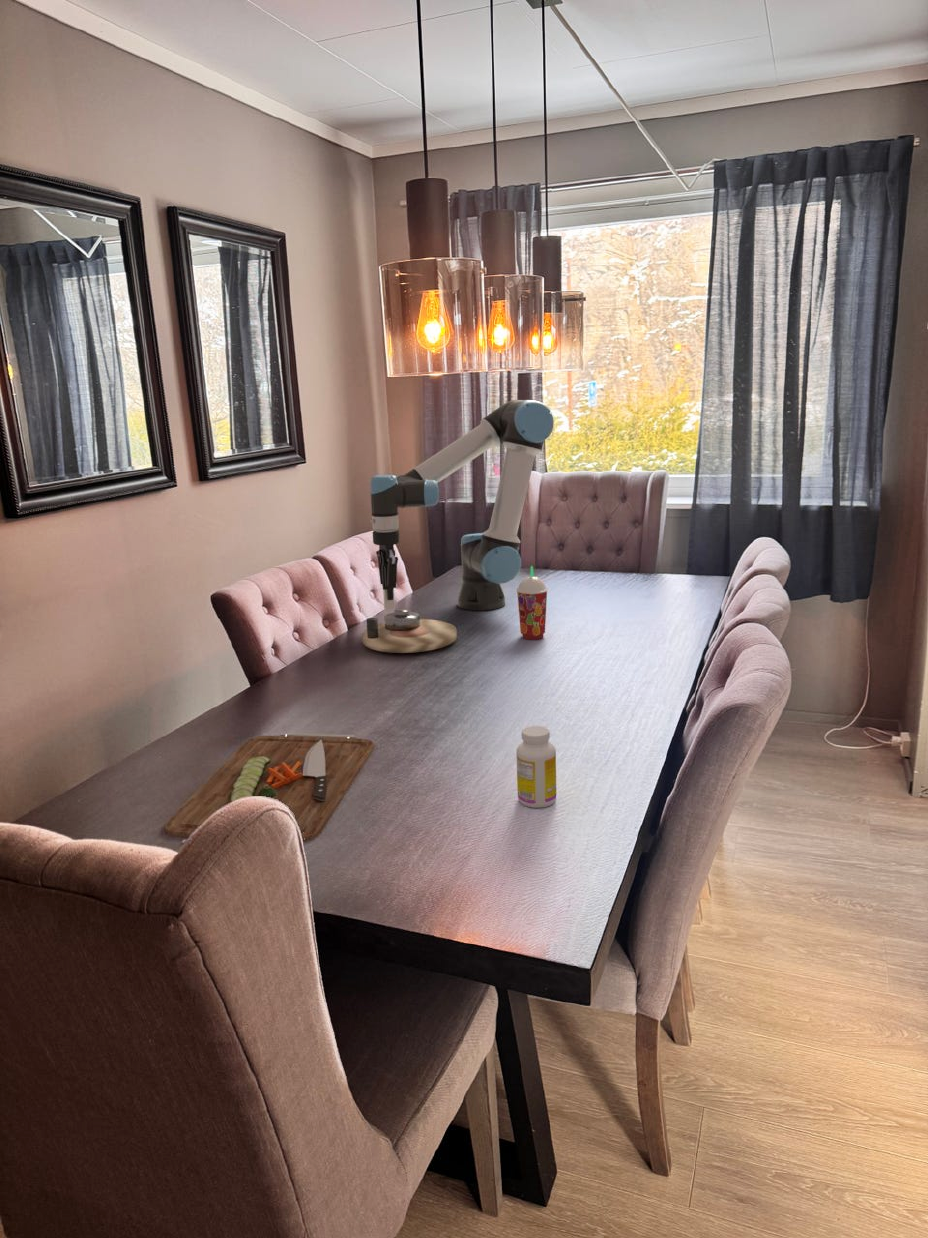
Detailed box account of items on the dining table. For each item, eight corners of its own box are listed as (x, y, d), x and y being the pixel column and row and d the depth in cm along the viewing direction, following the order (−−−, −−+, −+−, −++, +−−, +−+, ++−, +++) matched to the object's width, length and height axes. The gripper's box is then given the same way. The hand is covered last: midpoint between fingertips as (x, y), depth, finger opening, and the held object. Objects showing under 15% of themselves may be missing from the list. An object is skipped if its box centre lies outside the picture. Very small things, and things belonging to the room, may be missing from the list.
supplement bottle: (553, 790, 156) (553, 722, 153) (558, 808, 150) (558, 737, 146) (515, 792, 156) (514, 724, 153) (519, 810, 150) (517, 739, 146)
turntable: (436, 621, 263) (435, 598, 261) (471, 643, 239) (470, 618, 238) (351, 633, 253) (349, 609, 251) (379, 658, 230) (377, 632, 228)
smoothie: (548, 632, 251) (547, 563, 246) (547, 641, 243) (547, 569, 238) (518, 632, 252) (517, 563, 247) (517, 641, 244) (515, 570, 239)
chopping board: (257, 736, 187) (255, 722, 186) (381, 740, 182) (380, 726, 181) (150, 845, 144) (148, 828, 143) (309, 854, 139) (308, 836, 139)
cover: (413, 620, 257) (412, 604, 256) (425, 627, 248) (424, 612, 247) (380, 624, 254) (379, 609, 253) (391, 632, 245) (390, 616, 244)
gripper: (366, 527, 258) (370, 606, 264) (379, 534, 246) (384, 616, 253) (391, 525, 261) (394, 603, 267) (405, 532, 249) (409, 613, 255)
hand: (389, 609), depth 260 cm, fingers closed
